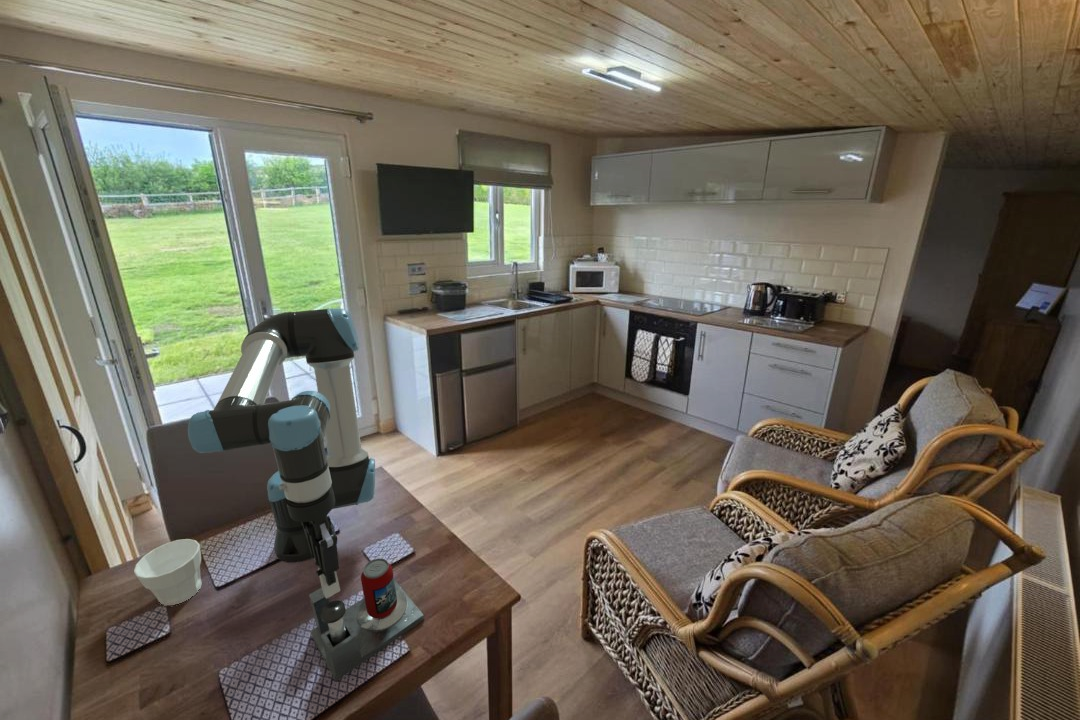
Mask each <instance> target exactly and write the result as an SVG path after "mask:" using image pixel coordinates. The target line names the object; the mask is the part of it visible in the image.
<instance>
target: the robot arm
mask: <svg viewBox="0 0 1080 720" xmlns="http://www.w3.org/2000/svg"><path fill="white" fill-rule="evenodd" d="M359 344H360V343H359V340H358V335H357V331H356V327H355V325H354V321H353V318H352V316H351V314H350V313H349V311H348V310H347V309H345V308H328V307H327V308H323V309H312V310H309V309H308V310H300V311H297V310H296V311H288V312H287V311H286V312H281V313H277V314H275V315H271V316H270V317H268V318H265V319H264V320H262V321H261V322H260V323H258V324H257V325H256V326H254V327H253V328H252V329H251V330H249V331H248V332H247V334H246V335H245V338H244V339H243V340H242V343H241V347H240V351H241V355H240V357H239V360H238V362H237V364H236V365H235V368H234V370H233V371H232V373H231V375H230V377H229V380H228V382H227V383H226V385H225V387H224V389H223V392H222V393H221V395H220V397H219V399H218V401H217V403H216V404H215V406H214V408H213V409H211V410H209V409H206V410H204V411H198V412H196V413H195V414H192V415H191V417H190V419H189V420H188V425H187V435H188V440H189V444H191V445H190V446H191V448H192V449H193V450H194V451H195V452H197V453H200V454H206V453H215V452H221V453H223V452H226V451H231V450H238V449H243V448H248V447H249V448H250V447H255V446H262V445H270V444H271V446H272V450H273V455H274V459H275V461H276V465H277V470H278V471H276V472H275V473H273V475H272V476H270V478H269V479H268V481H267V485H266V489H267V500H268V501H269V504H270V508H271V510H272V515H273V519H274V523H275V525H276V532H275V539H274V544H273V547H274V552H275V556H276V557H277V559H278V560H280V561H281V562H284V563H290V564H296V563H300V562H306V561H308V560H312V559H314V564H315V566H316V567H317V570H316V575H317V577H319V582H320V585H321V588H322V590H323V594H324V596H325V598H326V599H327V598H329V599H330V597H332V596H334V595H335V594H337V593H339V592H341V586H340V583H339V578H338V573H337V571H338V570H340V565H339V564H340V563H339V554H338V552H339V551H338V545H337V544H338V536H337V535H336V531H335V530H336V529H335V525H334V524H333V521H331V518H330V516H329V515H328V514H329V513H331V511H332V510H335V509H341V508H346V507H351V506H358V505H360V504H364V503H368V502H371V500H373V499H374V496H375V490H376V459H374V458H372V457H369V453H368V451H366V450H365V449H364V448H363V447H362V443H361V437H360V428H359V422H358V421H359V420H358V416H357V408H356V401H355V395H354V388H353V380H352V373H351V367H350V364H351V362H353V360H354V359H355V353H354V352H357V351H359V349H360V345H359ZM297 357H300V358H301V357H305V360H306V364H307V365H309V367H312V369H313V370H314V375H315V382H316V388H317V391H316V390H304V391H301V392H299V393H297V394H295V395H294V396H293V397H291V399H290V400H283V401H282V400H280V401H276V402H275V401H274V402H268V403H266V400H267V396H268V394H269V392H270V390H271V389H270V388H271V386H272V384H273V380H274V378H275V376H276V373H277V370H278V367H279V366H280V365H281V364H283V362H285V360H286V359H289V358H290V359H291V358H297ZM324 441H325V443H324ZM325 447H326V449H325ZM326 451H327V452H326Z"/></svg>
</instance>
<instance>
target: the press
mask: <svg viewBox="0 0 1080 720" xmlns="http://www.w3.org/2000/svg"><path fill="white" fill-rule="evenodd" d="M394 582H395V589H396V596H397V605H396V607H395V609H394V610H393V611H392V612H391V613H390V614H388V615H387V616H384V617H381V618H374V617H371V616H370V615H369V614H368V613H367V609H366V604H365V599H364V597H363V598H362V599H360V600H359V601H356V603H354V604H352V605H350V606H348V607H347V608H346V611H345V614H344V616H343V620H344V625H345V629H346V634H347V638H346V639H345V640H343V641H342V642H340V643H339V644H337V645H336V646H334V647H333V644H332V639H331V635H330V631H329V627H328V623H325V622H323V621H322V618H321V610H322V609H323V607H324V606H325V605H326V604H328V603H330V602H331V601H330V597H329V598H327V599H326V598H325V596H324V594H323V590H322V587H320V588H318V589H316V590H315V591H313V592H311V593H310V594H308V598H309V601H310V605H311V610H312V613H313V618H314V621H315V626H316V627H314V628H312V629H311V630H310V631H309V632H310V635H311V638H312V640H313V642H314V644H315V646H316V647H317V650H318V651H319V653H320V655H321V657H322V659H323V660H324V662H325V665H326V666H327V669H328V670H329V671H330V674H331V676H332V678H333V680H334V681H335V683H336V682H339V680H341V679H342V678H344V677H345V676H347V673H348V674H350V671H351V672H353V670H354V669H357V668H358V667H359V666H360V665H362V664H363V663H365V662H367V661H368V660H369V659H371V658H372V657H373V656H375V655H377V654H378V653H379V652H381V651H382V650H383V649H385V648H386V647H388V646H389V645H390V644H392V643H394V642H395V641H397V639H399V638H400V637H402V636H403V635H404V634H406V633H408V632H409V631H410V630H412V629H414V627H416V626H417V625H419V624H420V623H422V622H423V621H424V620H425V615H424V613H423V612H422V611H421V610H420V609H419V607H418V606H417V605H416V604H415V603H414V601H413V600H412V599H411V598H410V596H408V594H407V593H406V592H405V591H404V590H403V588H402V587H401V586H400V585H399V583H398V582H397V581H396V580H395V579H394ZM344 675H345V676H344ZM343 676H344V677H343ZM340 678H341V679H340Z"/></svg>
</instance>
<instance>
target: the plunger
mask: <svg viewBox="0 0 1080 720" xmlns="http://www.w3.org/2000/svg"><path fill="white" fill-rule="evenodd" d="M346 609H347V608H346V604H345V602H343V601H342V600H338V599H336V600H332V601H330V603H328V604H326V605H325V606H324V607H323V609H322V610H321V618H322V621H323V622H325V623H328V627H329V631H330V635H331V639H332V644H333V647H334V646H336V645H337V644H339V643H340V642H342V641H343V640H345V639H346V638H347V634H346V629H345V625H344V620H343V616H344V614H345V611H346Z"/></svg>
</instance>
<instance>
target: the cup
mask: <svg viewBox="0 0 1080 720" xmlns="http://www.w3.org/2000/svg"><path fill="white" fill-rule="evenodd" d="M201 563H202V553H201V545H200V543H199V542H198V541H197V540H195V539H190V538H185V539H184V538H183V539H176V540H173V541H170V542H167V543H164V544H162V545H160V546H157V547H155V548H154V549H152V550H151V551H149V552H148V553H146V554H145V555H143V556H142V557H141V558H140V559H139V560H138V562H136V564H135V566H134V570H133V573H134V575H135V576H136V577H137V579H138V580H139V582H140V584H141V585H143V587H144V589H147V590H150V592H152V594H153V596H155V598H156V599H157V601H158V603H159V602H160V603H161V604H164V605H175V604H179V603H182V602H184V601H186V600H187V601H189V600H190V598H191V597H192V596H193V597H194V596H196V593H197V592H199V591H200V590H201V589H202V583H203V582H202V576H201ZM199 589H200V590H199ZM198 590H199V591H198ZM197 594H198V593H197ZM193 597H192V598H193ZM192 598H191V599H192ZM188 599H189V600H188ZM187 601H186V602H187ZM160 603H159V604H160ZM184 603H185V602H184ZM161 604H160V605H161ZM182 604H183V603H182ZM179 605H180V604H179Z"/></svg>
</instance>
